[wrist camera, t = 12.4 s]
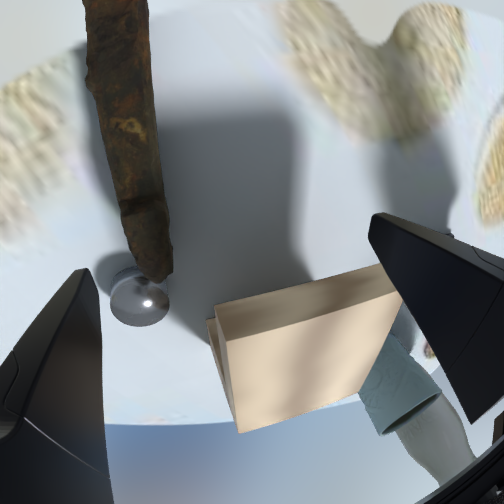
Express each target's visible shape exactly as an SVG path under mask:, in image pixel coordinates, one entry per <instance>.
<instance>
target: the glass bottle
mask: <svg viewBox="0 0 504 504" xmlns="http://www.w3.org/2000/svg"><path fill="white" fill-rule="evenodd" d="M418 365H419V366H420V367H421V368H422V369H423V371H424V372H426V373H427V374H428V372H427V371H426V370H425V369H424V368H423V367H422V366H421V365H420V364H419V363H418ZM428 375H429V374H428ZM429 376H430V375H429ZM430 377H431V376H430ZM431 379H432V378H431ZM432 380H433V379H432ZM433 381H434V380H433ZM396 433H397V435H398V437H399V438H400V440H401V442H402V443H403V445H404V447H405V449H406V450H407V452H408V453H409V455H410V456H411V457H412V458H413V459H414V460H415V461H416V462H417V463H419V464H420V465H421V466H422V467H423V468H425V469H426V470H427V471H428V472H429V473H430V474H431V475H432V476H433V477H434V478H435V479H436V480H437V481H438V483H439V486H440V487H441V486H442V485H444V484H445V483H446V482H448V481H449V480H450V479H452V478H453V477H454V476H456V475H457V474H458V473H460V472H461V471H462V470H464V469H465V468H466V467H467V466H469V465H470V464H471V463H472V462H473V461H475V460H476V459H477V458H476V457H475V455H474V454H473V452H472V450H471V448H470V446H469V444H468V439H467V436H466V433H465V430H464V427H463V423H462V421H461V419H460V417H459V415H458V413H457V412H456V410H455V409H454V407H453V406H452V405H451V403H450V402H449V401H448V399H447V398H446V397H445V396H444V394H443V393H441V395H440V396H439V397H438V399H437V400H436V401H435V402H434V403H433V404H431V405H430V406H429V407H428V408H427V409H426V410H425V411H423V412H422V413H421V414H420V415H418V416H417V417H416V418H414V419H413V420H411V421H410V422H409V423H407V424H406V425H404V426H402V427H401V428H399V429H397V430H396Z"/></svg>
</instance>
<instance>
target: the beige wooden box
mask: <svg viewBox="0 0 504 504" xmlns="http://www.w3.org/2000/svg"><path fill="white" fill-rule="evenodd" d="M402 301H403V299H402V298H401V296H400V295H399V293H398V292H397V290H396V288H395V287H394V285H393V284H392V282H391V281H390V279H389V277H388V276H387V274H386V272H385V270H384V268H383V266H382V264H381V263H379V264H375V265H372V266H368V267H365V268H361V269H357V270H354V271H350V272H346V273H342V274H339V275H335V276H331V277H327V278H324V279H320V280H316V281H312V282H308V283H304V284H300V285H296V286H292V287H288V288H284V289H280V290H276V291H272V292H268V293H264V294H260V295H255V296H251V297H247V298H243V299H238V300H234V301H230V302H225V303H221V304H217V305H214V310H215V317H216V318H212V319H207V320H206V324H207V330H208V335H209V341H210V346H211V350H212V353H213V356H214V360H215V363H216V366H217V369H218V373H219V376H220V379H221V382H222V385H223V388H224V391H225V395H226V398H227V401H228V404H229V407H230V410H231V413H232V416H233V419H234V422H235V425H236V427H237V430H238V433H239V434H240V433H243V432H247V431H251V430H254V429H257V428H261V427H264V426H268V425H271V424H274V423H277V422H281V421H284V420H287V419H290V418H293V417H295V416H299V415H301V414H304V413H307V412H310V411H313V410H315V409H318V408H321V407H323V406H326V405H328V404H331V403H334V402H336V401H339V400H341V399H343V398H346V397H348V396H351V395H353V394H355V393H358V392H359V390H360V388H361V387H362V385H363V383H364V381H365V379H366V377H367V375H368V374H369V372H370V370H371V368H372V366H373V364H374V362H375V360H376V358H377V356H378V354H379V352H380V350H381V348H382V346H383V344H384V342H385V340H386V337H387V335H388V333H389V331H390V329H391V327H392V324H393V322H394V320H395V318H396V315H397V313H398V311H399V309H400V306H401V304H402Z"/></svg>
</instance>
